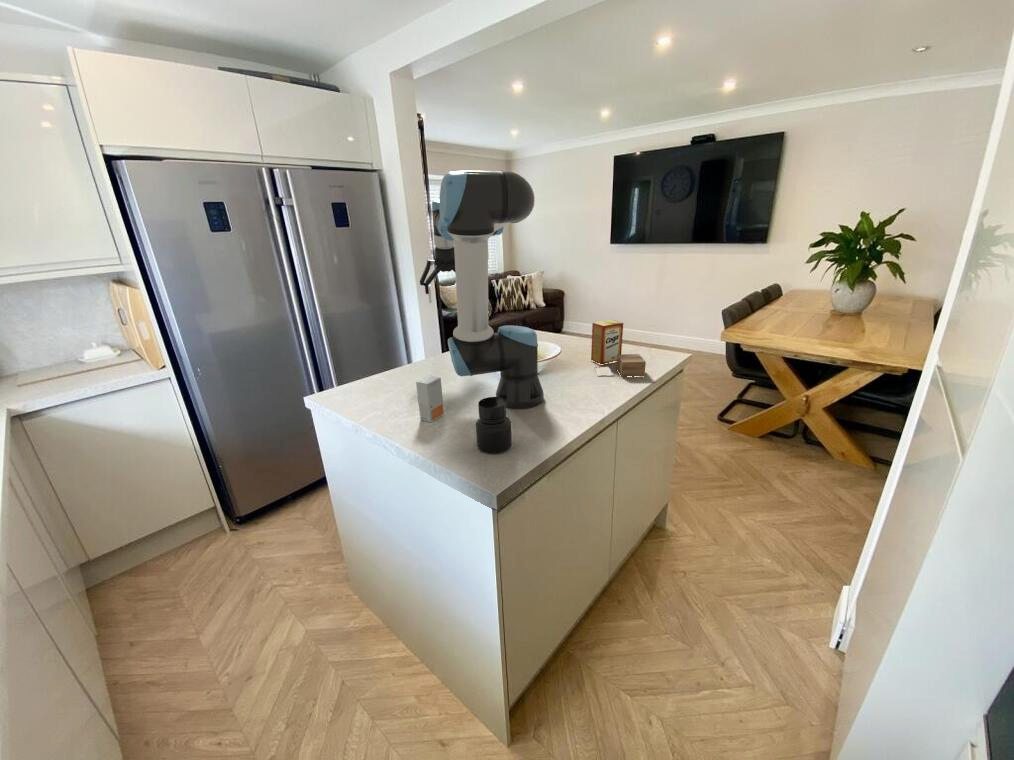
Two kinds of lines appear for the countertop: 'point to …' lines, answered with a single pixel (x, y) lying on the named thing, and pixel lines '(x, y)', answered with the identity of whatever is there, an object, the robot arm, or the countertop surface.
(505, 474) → the countertop surface
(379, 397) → the countertop surface
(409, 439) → the countertop surface
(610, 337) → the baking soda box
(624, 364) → the walnut block
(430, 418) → the skincare box
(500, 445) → the ink bottle
